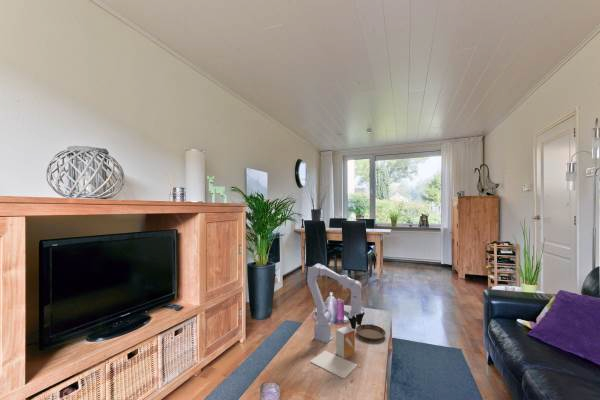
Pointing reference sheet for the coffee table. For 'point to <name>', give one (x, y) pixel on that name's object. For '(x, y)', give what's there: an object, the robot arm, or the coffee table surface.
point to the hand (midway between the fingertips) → (356, 326)
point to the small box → (345, 342)
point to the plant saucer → (370, 332)
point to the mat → (334, 364)
